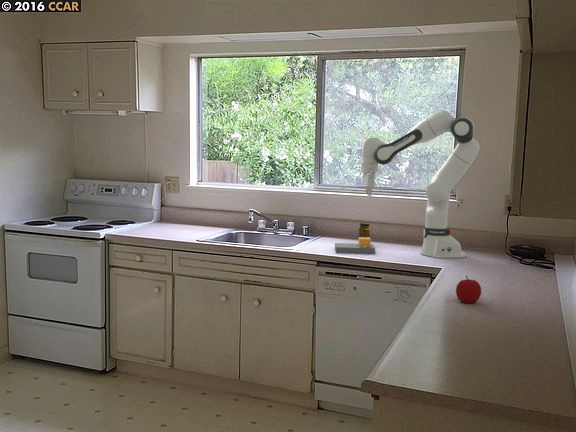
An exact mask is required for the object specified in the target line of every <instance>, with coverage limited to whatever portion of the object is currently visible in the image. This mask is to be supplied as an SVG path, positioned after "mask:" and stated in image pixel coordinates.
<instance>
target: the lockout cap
mask: <svg viewBox="0 0 576 432" xmlns="http://www.w3.org/2000/svg"><path fill="white" fill-rule="evenodd" d="M371 240H372V239H371V237H359V236H358V242H359V247H364V246H367V247H370V244H371V242H372V241H371Z"/></svg>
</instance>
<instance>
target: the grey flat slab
mask: <svg viewBox="0 0 576 432" xmlns="http://www.w3.org/2000/svg"><path fill="white" fill-rule="evenodd" d="M334 251H335V253H336V254H356V255H357V254H359V255H360V254H361V255H376V247H375V245H374V244H373V243H370V247H367V246H364V247H359V244H358V243H356V242H354V243H350V242H334Z"/></svg>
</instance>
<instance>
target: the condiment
mask: <svg viewBox="0 0 576 432" xmlns="http://www.w3.org/2000/svg"><path fill="white" fill-rule="evenodd" d="M370 235H371V228H370V223H369V222H360V223H359V227H358V238H359V237H370ZM370 238H371V237H370ZM357 244H359V241H358V243H357Z"/></svg>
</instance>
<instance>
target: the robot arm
mask: <svg viewBox="0 0 576 432" xmlns="http://www.w3.org/2000/svg"><path fill="white" fill-rule="evenodd" d="M474 131H475V124H474V122H473V120H471V119H470V118H468V117H465V116H461V117H453V115H452V113H450V112H449V111H448V110H440V111H438V112H435V113H433V114H431V115H429V116H427V117H426V118H423V119H422V120H421V121H420V122H418V123H417V124H416V125H414V126H413V127H412V128H411V129H410V130H409V131H408V132H407V133H406V134H404V135H402V136H401V137H398V138H397V139H396V140H393V141H391V142H389V143H386V142H384V141H382V140H381V139H379V138H378V137H368V138H365V139H364V140H363V141H362V146H361V157H362V158H361V167H360V169H361V170H360V172H362V174H363V177H362V178H363V179H362V180H363V184H364V186H365V194H366V195H367V196H368V197H372V194H373V189H374V188H375V184H376V181H375V179H376V177H375V176H376V173H379V165H387V164H389V163H393V162H394V161H395V160H396V158H397V156H398V154H399V153H401V152H403V151H404V150H406V149H408V148H410V147H412V146H415V145H419V144H424V143H427V142H429V141H432V140H434V139H436V138H438V137H441V135H443V134H445V133H451V134H452V136H453V138H454V139H456V141H457V145H456V146H455V148H454V149H453V150H452V152H451V153H450V155H449V156H448V157H447V158H446V159H445V161H444V162H443V164H442V165H441V167H440V168H439V169H438V170H437V171H436V173H435V174H434V176H432V178H431V179H430V181H429V182H428V183H427V185H426V188H425V195H426V197H427V202H426V209H425V218H424V221H425V223H424V227H423V241H422V242H423V243H422V246H421V250H420V254H421V255H423V256H425V257H432V258H437V259H442V258H443V259H449V258H450V259H452V258H456V259H457V258H466V253H465V252H463V251H462V246H461V243H460V242H459V241H458V240H457V239H455V238H454V237H453V236H452V234H454V230H453V229H451V228H449V227H448V217H449V207H450V198H451V192H452V190H453V189H454V187H455V186H456V184H458V182H459V181H460V179H461V178H462V177H463V176H464V174H465V173H466V172H467V170H468V169H469V167H471V165H472V164H473V162H474V160H475V159H476V158H477V155H478V154H479V152H480V149H481V147H480V144H479V142H478V141H477V140H476V139H475V138H474Z"/></svg>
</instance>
